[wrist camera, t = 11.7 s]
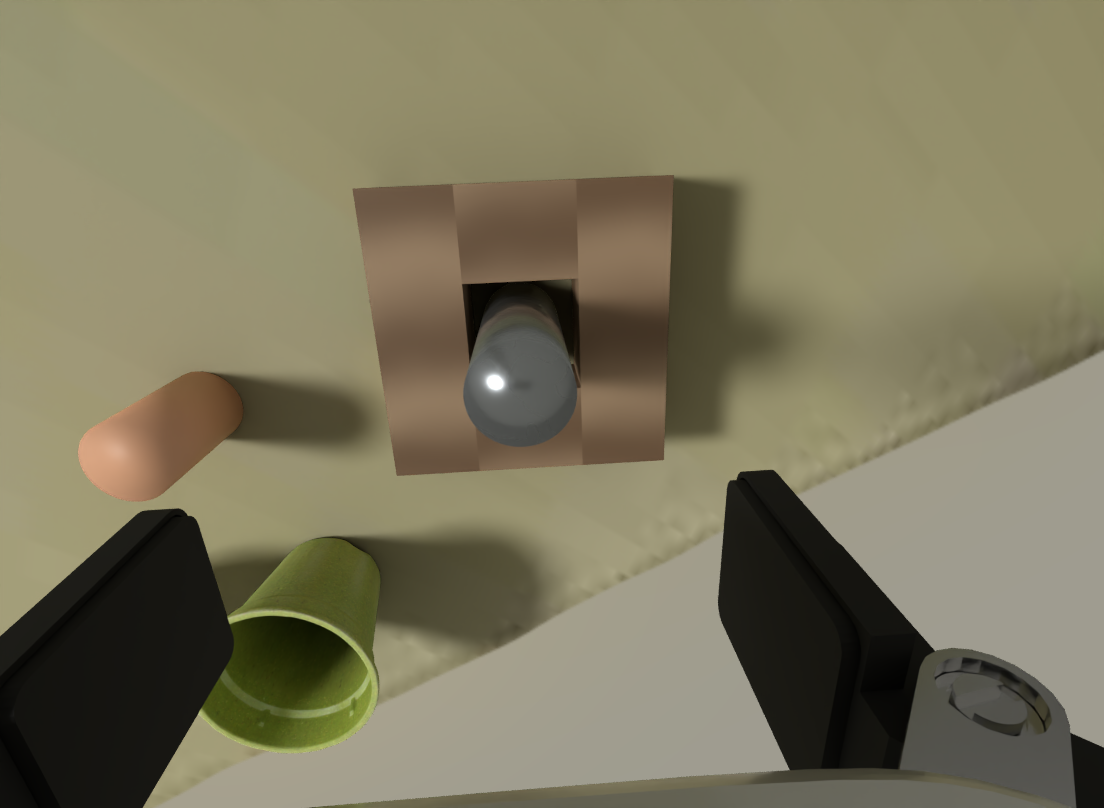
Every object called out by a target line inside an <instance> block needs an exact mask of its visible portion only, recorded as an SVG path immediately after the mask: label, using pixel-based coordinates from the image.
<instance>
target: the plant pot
mask: <svg viewBox="0 0 1104 808" xmlns="http://www.w3.org/2000/svg"><path fill="white" fill-rule="evenodd" d="M380 582H381V578H380V573H379V570H378V567H377V565H376V563H375V562H374V560H373V559H372V557H371V556H370V555H369V554H367V553H365V552H363V551H361V550H359V549H357V548H356V547H354V546H353V545H351V544H350V543H349V542H347V541H345V540H341V539H336V538H320V539H314V540H310V541H307V542H305V543H303V544H301V545H299V546H297V547H296V548H295V549H294V550H293V551H292V552H291V553H289V554H288V556H287V557H286V558H285V559H284V560H283V561H282V562H281V564H280V565H279V566H278V567H277V568H276V569H275V570H274V571H273V573H272V574H271V575H270V576H269V577H268V578H267V579H266V580H265V581H264V583H263V584H262V585H261V586H260V587H259V588H258V589H257V590H256V591H255V592H254V594H253V595H252V596H251V597H250V598H249V599H248V600H247V601H246V602H245V604H244V605H243V606H242V607H240V608H239V609H237V610H235V611H234V612H233V613H231V614H230V615H228V616H227V617H228V621H229V624H230V627H231V630H232V633H233V637H234V649H233V653H232V657H231V659H230V661H229V662H228V664H227V666H226V668H225V669H224V671H223V673H222V674H221V676H220V678H219V679H218V681H217V683H216V684H215V686H214V688H213V689H212V691H211V693H210V695H209V696H208V698H207V700H206V701H205V703H204V705H203V706H202V708H201V710H200V711H199V713H198V714H199V715H200V716H201V717H202V718H203V719H204V720H205V721H206V722H207V723H208V724H209V725H211V726H212V727H213V728H214V729H215V730H216V731H218V732H220V733H221V734H223V735H224V736H226V737H227V738H230V739H232V740H234V741H236V742H238V743H240V744H242V745H245V746H249V747H252V748H256V749H262V750H266V751H271V752H277V753H302V752H312V751H317V750H321V749H324V748H327V747H330V746H333V745H336V744H339V743H341V742H343V741H344V740H347V739H348V738H349V737H351V736H352V735H353V734H355V733H356V732H357V731H359V730H360V729H361V728H362V727H363V726H364V725H365V724H366V722H367V721H368V720H369V718H370V717H371V715H372V714H373V712H374V710H375V707H376V705H377V700H378V696H379V676H378V672H377V668H376V666H375V663H374V655H373V651H372V648H373V640H374V632H375V624H376V616H377V608H378V601H379V593H380Z"/></svg>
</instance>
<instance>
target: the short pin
mask: <svg viewBox="0 0 1104 808" xmlns="http://www.w3.org/2000/svg"><path fill="white" fill-rule="evenodd" d="M242 417H243V404H242V401H241V398H240V396H239V394H238V393H237V391H236V390H235V389H234V387H233V386H232V385H231V384H230V383H228V382H227V381H226V380H224V379H223V378H221V377H219V376H217V375H214V374H211V373H207V372H191V373H187V374H185V375H182V376H181V377H179V378H177V379H175V380H174V381H172V382H170V383H169V384H167V385H165V386H163V387H162V388H160V389H158V390H156V391H155V392H153V393H151V394H149V395H148V396H146V397H144V398H143V399H141V400H139V401H137V402H136V403H134V404H132V405H130V406H129V407H127V408H125V409H123V410H122V411H120V412H118V413H117V414H115V415H113V416H111V417H110V418H108V419H106V420H104V421H103V422H101V423H99V424H97V425H96V426H94V427H92V428H91V429H90V430H88V431H87V432H86V433H85V435H84V436H83V437H82V439H81V441H80V444H79V449H78V455H79V461H80V464H81V467H82V469H83V471H84V473H85V474H86V476H87V477H88V478H89V480H90V481H91V482H92V483H93V484H94V485H95V486H97V487H98V488H99V489H100V490H102V491H103V492H105V493H107V494H109V495H111V496H113V497H115V498H119V499H122V500H126V501H147V500H151V499H154V498H156V497H158V496H160V495H161V494H163V493H164V492H165V491H166V490H167V489H168V488H170V487H171V486H172V485H173V484H174V483H175V482H176V481H178V480H179V479H180V478H181V477H182V476H183V475H184V474H186V473H187V472H188V471H189V470H190V469H191V468H192V467H194V466H195V465H196V464H197V463H198V462H199V461H200V460H202V459H203V458H204V457H205V456H206V455H207V454H208V453H210V452H211V451H212V450H213V449H214V448H215V447H216V446H218V445H219V444H220V443H221V442H222V441H223V440H224V439H226V438H227V437H228V436H229V435H230V434H231V433H232V432H234V431H235V430H236V429H237V428H238V426H239V425H240V423H241V421H242Z"/></svg>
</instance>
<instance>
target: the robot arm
mask: <svg viewBox="0 0 1104 808" xmlns="http://www.w3.org/2000/svg"><path fill="white" fill-rule="evenodd" d="M718 607H719V614H720V618H721V621H722V624H723V626H724V628H725V630H726V632H727V635H728V637H729V639H730V641H731V643H732V645H733V648H734V650H735V652H736V654H737V656H738V659H739V661H740V663H741V665H742V667H743V669H744V671H745V674H746V676H747V678H748V680H749V682H750V684H751V687H752V689H753V691H754V693H755V695H756V698H757V700H758V702H759V704H760V706H761V708H762V711H763V713H764V715H765V717H766V719H767V722H768V724H769V726H770V728H771V730H772V732H773V735H774V737H775V739H776V741H777V743H778V745H779V748H780V750H781V752H782V754H783V756H784V759H785V761H786V763H787V765H788V767H789V769H790V770H788V771H772V772H755V773H738V774H722V775H706V776H689V777H677V778H665V779H651V780H639V781H626V782H613V783H602V784H588V785H575V786H563V787H550V788H538V789H526V790H512V791H500V792H488V793H476V794H465V795H452V796H441V797H429V798H416V799H405V800H394V801H381V802H369V803H358V804H346V805H335V806H323V807H312V808H1104V748H1103V747H1101V746H1099V745H1097V744H1094V743H1092V742H1090V741H1087V740H1085V739H1083V738H1081V737H1078V736H1076V735H1073V734H1072V733H1070V725H1069V722H1068V718H1067V715H1066V713H1065V709H1064V708H1063V707H1062V705H1061V704H1060V703H1059V701H1058V700H1057V699H1056V697H1055V696H1054V695H1053V693H1052V692H1050V691H1049V690H1048V689H1047V688H1046V687H1045V686H1044V685H1043V684H1041V683H1040V682H1039V681H1038V680H1037V679H1036V678H1034V677H1033V676H1031V675H1030V674H1028V673H1026V672H1025V671H1023V670H1022V669H1020V668H1018V667H1017V666H1015V665H1013V664H1011V663H1009V662H1006V661H1004V660H1002V659H999V658H997V657H995V656H993V655H989V654H985V653H982V652H978V651H974V650H969V649H958V648H949V649H943V650H937V651H934V649H933V648H932V647H931V646H930V645H929V644H928V643H927V641H926V640H925V639H924V638H923V637H922V636H921V635H920V634H919V632H918V631H917V630H916V629H915V628H914V627H913V626H912V624H911V623H910V622H909V621H908V620H907V619H906V618H905V617H904V615H903V614H902V613H901V612H900V611H899V610H898V609H897V608H896V606H895V605H894V604H893V603H892V602H891V601H890V600H889V598H888V597H887V596H886V595H885V594H884V593H883V592H882V591H881V589H880V588H879V587H878V586H877V585H876V584H875V583H874V581H873V580H872V579H871V578H870V577H869V576H868V575H867V573H866V572H865V571H864V570H863V569H862V568H861V567H860V565H859V564H858V563H857V562H856V561H855V560H854V559H853V557H852V556H851V555H850V554H849V553H848V552H847V551H846V550H845V549H844V547H843V546H842V545H840V544H839V543H838V542H837V541H836V540H835V539H834V538H833V537H832V536H831V534H830V533H829V532H828V531H827V530H826V529H825V528H824V526H823V525H822V524H821V523H820V522H819V521H818V519H817V518H816V517H815V516H814V515H813V514H812V513H811V512H810V510H809V509H808V508H807V507H806V506H805V505H804V504H803V502H802V501H801V500H800V499H799V498H798V497H797V496H796V494H795V493H794V492H793V491H792V490H791V489H790V488H789V486H788V485H787V484H786V483H785V482H784V481H783V480H782V478H781V477H780V476H779V475H778V474H777V473H776V472H775V471H774V470H761V471H746V472H740V473H739V474H738V477H737V480H731V481H730V482H729V483H728V487H727V496H726V509H725V521H724V533H723V546H722V559H721V571H720V583H719V596H718ZM233 649H234V637H233V633H232V630H231V627H230V624H229V621H228V617H227V614H226V611H225V608H224V605H223V601H222V598H221V595H220V592H219V589H218V586H217V582H216V579H215V576H214V573H213V570H212V566H211V563H210V560H209V557H208V554H207V551H206V547H205V544H204V541H203V538H202V535H201V532H200V528H199V525H198V523H197V521H196V519H195V518H194V517H192V516H188V515H187V514H186V513H185V512H184V511H183V510H181V509H179V508H178V509H162V510H147V511H142V512H140V513H138V514H137V515H136V516H135V517H133V518H132V519H131V520H130V521H129V522H128V523H127V524H126V525H125V526H123V527H122V528H121V529H120V530H119V531H118V532H117V533H116V534H114V535H113V536H112V537H111V538H110V539H109V540H108V541H107V542H105V543H104V544H103V545H102V546H101V547H100V548H99V549H98V550H96V551H95V552H94V553H93V554H92V555H91V556H90V557H89V558H88V559H86V560H85V561H84V562H83V563H82V564H81V565H80V566H79V567H77V568H76V569H75V570H74V571H73V572H72V573H71V574H70V575H68V576H67V577H66V578H65V579H64V580H63V581H62V582H61V583H59V584H58V585H57V586H56V587H55V588H54V589H53V590H52V591H50V592H49V593H48V594H47V595H46V596H45V597H44V598H43V599H42V600H40V601H39V602H38V603H37V604H36V605H35V606H34V607H33V608H31V609H30V610H29V611H28V612H27V613H26V614H25V615H24V616H22V617H21V618H20V619H19V620H18V621H17V622H16V623H15V624H13V625H12V626H11V627H10V628H9V629H8V630H7V631H6V632H5V633H3V634H2V635H1V636H0V808H143V806H144V804H145V803H146V801H147V799H148V798H149V796H150V794H151V793H152V791H153V789H154V788H155V786H156V784H157V782H158V781H159V779H160V777H161V776H162V774H163V772H164V771H165V769H166V767H167V766H168V764H169V762H170V760H171V759H172V757H173V755H174V754H175V752H176V750H177V749H178V747H179V745H180V744H181V742H182V740H183V738H184V737H185V735H186V733H187V732H188V730H189V728H190V727H191V725H192V723H193V722H194V720H195V718H196V717H197V715H198V713H199V711H200V710H201V708H202V706H203V705H204V703H205V701H206V700H207V698H208V696H209V695H210V693H211V691H212V689H213V688H214V686H215V684H216V683H217V681H218V679H219V678H220V676H221V674H222V673H223V671H224V669H225V668H226V666H227V664H228V662H229V661H230V659H231V657H232V653H233Z"/></svg>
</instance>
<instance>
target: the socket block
mask: <svg viewBox="0 0 1104 808" xmlns="http://www.w3.org/2000/svg"><path fill="white" fill-rule="evenodd" d="M673 178H674V175H665V176H639V177H615V178H592V179H568V180H544V181H521V182H497V183H473V184H450V185H426V186H402V187H379V188H358V189H353V195H354V201H355V208H356V214H357V220H358V227H359V233H360V240H361V246H362V253H363V259H364V266H365V272H366V279H367V285H368V292H369V298H370V305H371V311H372V318H373V324H374V331H375V337H376V344H377V350H378V356H379V363H380V369H381V376H382V382H383V389H384V395H385V402H386V408H387V415H388V421H389V428H390V434H391V441H392V447H393V454H394V460H395V467H396V473H397V476H401V475H418V474H435V473H452V472H469V471H486V470H503V469H520V468H537V467H554V466H571V465H588V464H605V463H622V462H639V461H656V460H664V438H665V409H666V380H667V351H668V322H669V293H670V264H671V236H672V207H673ZM558 279H572V309H573V346H574V364H571V366H572V370H573V373H574V377H575V381H576V385H577V402H576V407H575V410H574V413H573V415H572V417H571V419H570V420H569V422H568V423H567V425H566V426H565V427H564V428H563V429H562V430H561V431H560V432H559V433H558V434H557V435H555V436H554V437H553V438H551V439H549V440H547V441H545V442H543V443H540V444H537V445H533V446H527V447H513V446H507V445H503V444H500V443H498V442H495V441H493V440H491V439H489V438H488V437H486V436H485V435H484V434H482V433H481V432H480V431H479V430H478V429H477V428H476V427H475V425H474V424H473V423H472V421H471V420H470V418H469V416H468V414H467V411H466V408H465V405H464V399H463V388H464V382H465V378H466V375H467V371H468V368H469V364H470V360H471V357H472V353H473V350H474V346H475V331H474V320H473V309H472V298H471V287H470V284H475V283H495V282H516V281H537V280H558Z"/></svg>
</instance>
